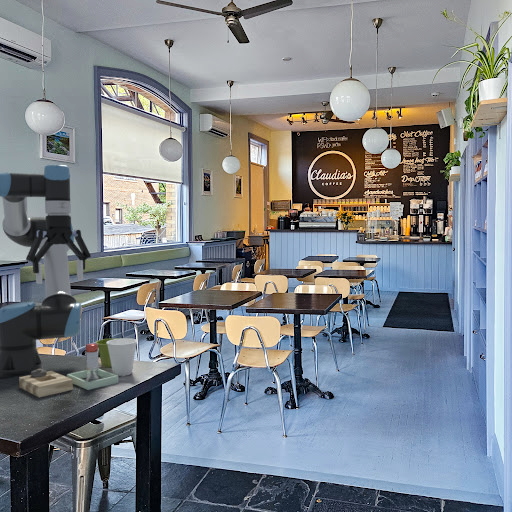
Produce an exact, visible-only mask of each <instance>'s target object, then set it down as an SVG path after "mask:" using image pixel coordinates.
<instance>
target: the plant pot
mask: <svg viewBox="0 0 512 512" xmlns="http://www.w3.org/2000/svg"><path fill="white" fill-rule="evenodd" d="M113 339H117V338H116V337H115V338H104V339H100V340H97V341H95V344H98V355H99V357H100V359H99V360H100V365H101V366H102V367H103V368H112V365H111V360H110V355H109V350H108V345H107V343H106V342H107V341H109V340H113Z"/></svg>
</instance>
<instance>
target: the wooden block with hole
mask: <svg viewBox="0 0 512 512" xmlns="http://www.w3.org/2000/svg"><path fill="white" fill-rule="evenodd" d="M18 382H19V383H18V384H19V385H18V386H19V388H20V389H22V390H24V391H26V392H28V393H29V394H32V395H33V396H35V397H36V398H42V397H47V396H51V395H55V394H60V393H64V392H68V391H72V390H74V388H73V387H74V384H73V379H70V378H68V377H67V376H65V375H63V374H60V373H59V372H58V373H57V372H56V371H54V370H49V371H47V369H43V370H42V369H36V370H34V371H32V372H31V373H30V374H27V375H22V376H19V379H18Z"/></svg>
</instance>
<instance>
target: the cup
mask: <svg viewBox="0 0 512 512" xmlns="http://www.w3.org/2000/svg"><path fill="white" fill-rule="evenodd" d="M137 342H138V340H137V339H135V338H126V337H124V338H121V337H120V338H116V339H113V340H109V341H107V342H106V343H107V345H108V350H109V355H110V360H111V365H112V366H111V369H112V374H115V375H118V377H126V375H127V376H130V375H131V374H133V369H134V360H135V355H136V354H135V353H136V348H137Z"/></svg>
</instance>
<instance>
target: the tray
mask: <svg viewBox="0 0 512 512" xmlns="http://www.w3.org/2000/svg"><path fill="white" fill-rule="evenodd" d="M98 371H99V380H95V381H91V382H87V380H85V379H87V377H86V370H81V371H76V372H71V373H67V374H66V377H68V378H70V379H73V385H75V386H78V387H80V388H83V389H85V390H87V391H89V390H93V389H94V390H95V389H98V388H101V387H106V386H109V385H114V384H118V383H119V376H118V375H115V374H113V372H109V371H107V370H103V369H101V368H98Z"/></svg>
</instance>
